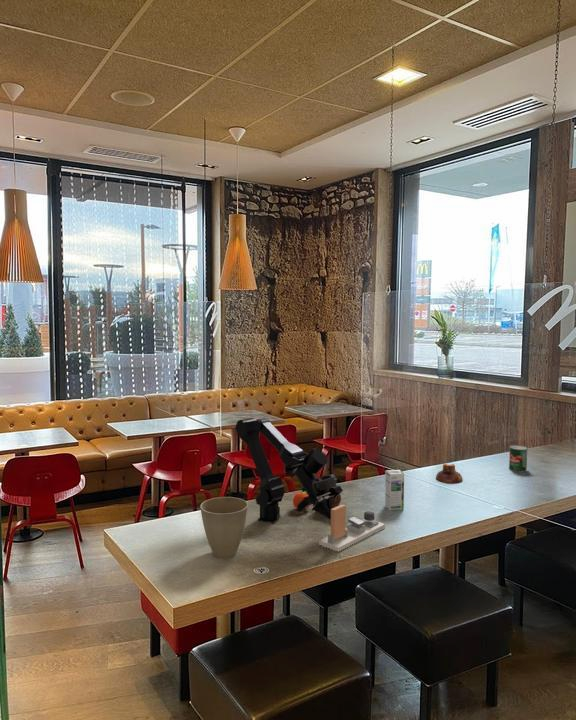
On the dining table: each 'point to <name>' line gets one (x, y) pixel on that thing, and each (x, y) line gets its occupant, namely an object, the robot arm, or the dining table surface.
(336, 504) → the mug
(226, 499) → the plant pot
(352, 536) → the switch console
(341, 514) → the paddle
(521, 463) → the canned tomato
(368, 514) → the push button
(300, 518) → the dining table surface
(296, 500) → the clementine
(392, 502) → the syrup box
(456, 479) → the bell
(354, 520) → the rocker
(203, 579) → the dining table surface
